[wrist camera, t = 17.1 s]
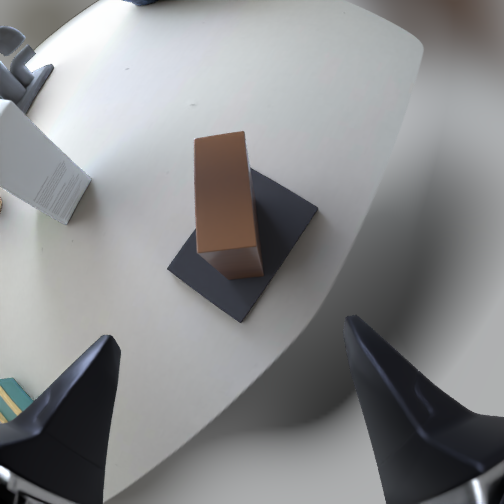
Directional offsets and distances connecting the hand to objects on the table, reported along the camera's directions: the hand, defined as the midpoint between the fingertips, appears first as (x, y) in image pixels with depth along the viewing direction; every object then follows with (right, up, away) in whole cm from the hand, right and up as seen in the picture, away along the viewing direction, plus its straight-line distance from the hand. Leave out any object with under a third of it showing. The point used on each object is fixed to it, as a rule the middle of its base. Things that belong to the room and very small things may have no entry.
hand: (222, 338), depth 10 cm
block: (0, +4, +15) cm, 15 cm away
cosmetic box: (-22, +10, +18) cm, 30 cm away
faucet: (-40, +32, +25) cm, 57 cm away
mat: (0, +4, +15) cm, 16 cm away
